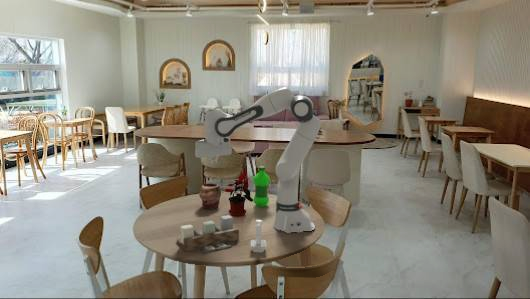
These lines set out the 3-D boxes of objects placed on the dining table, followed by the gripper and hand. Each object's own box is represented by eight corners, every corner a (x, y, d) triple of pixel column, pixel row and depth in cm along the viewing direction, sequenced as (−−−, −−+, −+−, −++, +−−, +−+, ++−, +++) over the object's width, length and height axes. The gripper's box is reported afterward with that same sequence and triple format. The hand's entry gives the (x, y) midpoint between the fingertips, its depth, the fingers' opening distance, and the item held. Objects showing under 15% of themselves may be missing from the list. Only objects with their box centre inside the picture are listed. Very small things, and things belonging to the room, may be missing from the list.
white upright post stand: (266, 246, 193) (266, 216, 190) (265, 255, 183) (266, 224, 180) (251, 245, 193) (251, 216, 190) (250, 254, 183) (250, 224, 180)
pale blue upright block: (229, 229, 207) (229, 215, 206) (232, 232, 204) (232, 217, 202) (220, 231, 205) (220, 216, 203) (223, 234, 201) (223, 219, 200)
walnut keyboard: (228, 231, 210) (228, 221, 208) (244, 244, 194) (244, 233, 193) (176, 241, 196) (176, 231, 195) (189, 256, 180) (189, 245, 179)
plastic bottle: (249, 206, 249) (250, 167, 245) (259, 201, 258) (260, 164, 253) (262, 209, 244) (263, 169, 239) (272, 205, 252) (273, 166, 247)
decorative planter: (209, 200, 260) (209, 179, 257) (226, 202, 256) (226, 181, 253) (195, 209, 241) (194, 187, 238) (213, 212, 237) (213, 189, 235)
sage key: (212, 235, 199) (211, 220, 198) (215, 238, 196) (215, 223, 194) (202, 237, 197) (202, 222, 195) (205, 240, 193) (205, 225, 192)
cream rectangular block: (190, 240, 194) (190, 224, 192) (193, 243, 190) (193, 227, 189) (181, 242, 191) (180, 226, 190) (183, 245, 188) (183, 229, 186)
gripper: (197, 141, 205) (197, 167, 208) (233, 138, 215) (233, 163, 218) (192, 139, 211) (193, 165, 213) (228, 136, 221) (228, 161, 223)
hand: (213, 164), depth 216 cm, fingers closed
